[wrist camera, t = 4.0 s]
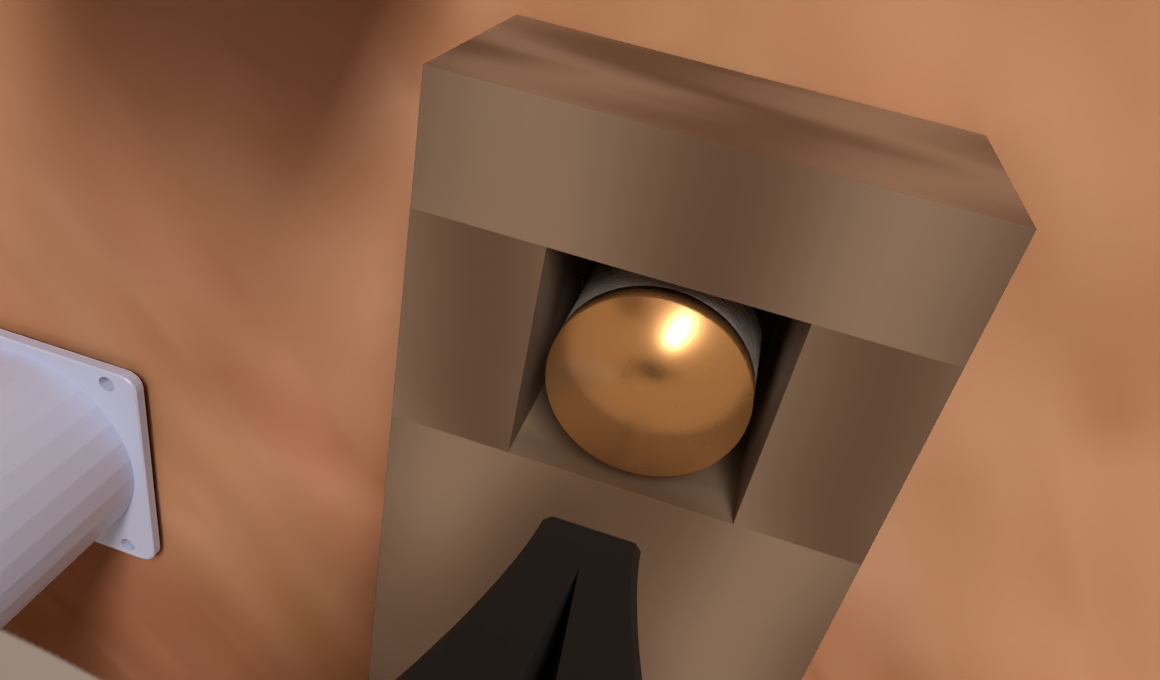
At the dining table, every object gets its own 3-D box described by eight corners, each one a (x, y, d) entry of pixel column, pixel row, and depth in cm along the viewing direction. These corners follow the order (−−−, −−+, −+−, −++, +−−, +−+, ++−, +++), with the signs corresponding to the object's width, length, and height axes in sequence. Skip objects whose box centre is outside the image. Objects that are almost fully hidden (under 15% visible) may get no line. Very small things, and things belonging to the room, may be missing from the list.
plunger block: (414, 728, 32) (352, 861, 28) (516, 14, 18) (423, 64, 14) (671, 822, 31) (646, 975, 27) (985, 135, 17) (1036, 229, 13)
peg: (583, 335, 21) (530, 441, 18) (617, 188, 19) (565, 271, 15) (739, 383, 21) (719, 501, 17) (791, 236, 19) (781, 334, 15)
